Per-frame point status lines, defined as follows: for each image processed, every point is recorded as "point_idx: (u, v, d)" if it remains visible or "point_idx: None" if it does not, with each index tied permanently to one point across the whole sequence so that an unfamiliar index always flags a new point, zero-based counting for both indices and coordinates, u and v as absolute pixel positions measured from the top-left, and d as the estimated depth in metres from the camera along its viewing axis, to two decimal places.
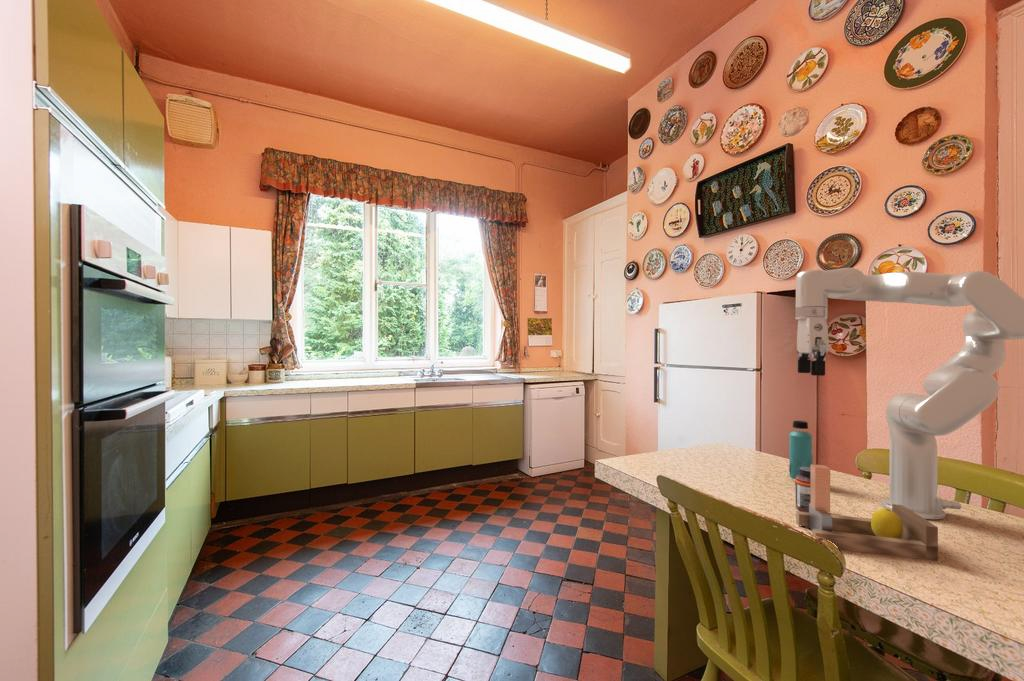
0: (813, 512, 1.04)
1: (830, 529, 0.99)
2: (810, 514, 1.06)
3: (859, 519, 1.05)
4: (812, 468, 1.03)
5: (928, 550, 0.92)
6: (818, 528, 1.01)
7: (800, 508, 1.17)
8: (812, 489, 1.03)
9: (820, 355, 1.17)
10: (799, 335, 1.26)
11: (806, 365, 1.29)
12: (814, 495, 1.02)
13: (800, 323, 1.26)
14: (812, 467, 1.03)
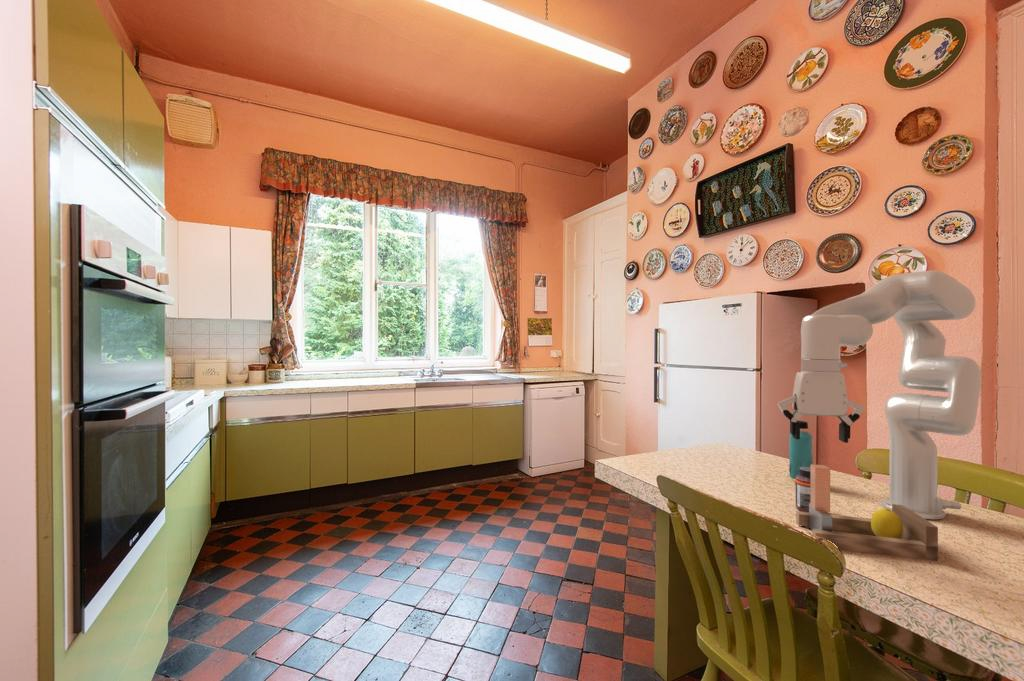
0: (813, 512, 1.04)
1: (830, 529, 0.99)
2: (810, 514, 1.06)
3: (859, 519, 1.05)
4: (812, 468, 1.03)
5: (928, 550, 0.92)
6: (818, 528, 1.01)
7: (800, 508, 1.17)
8: (812, 489, 1.03)
9: None
10: (816, 393, 1.01)
11: None
12: (814, 495, 1.02)
13: (820, 378, 1.01)
14: (812, 467, 1.03)
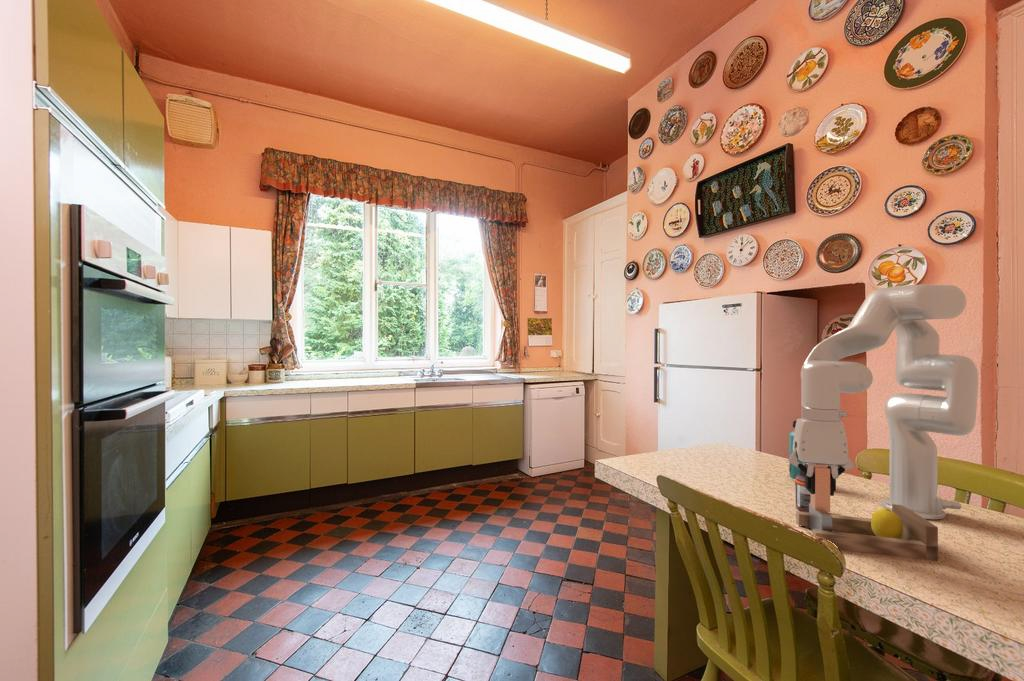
0: (813, 512, 1.04)
1: (830, 529, 0.99)
2: (810, 514, 1.06)
3: (859, 519, 1.05)
4: None
5: (928, 550, 0.92)
6: (818, 528, 1.01)
7: (800, 508, 1.17)
8: None
9: None
10: (817, 442, 1.01)
11: None
12: (814, 495, 1.02)
13: (820, 427, 1.01)
14: None
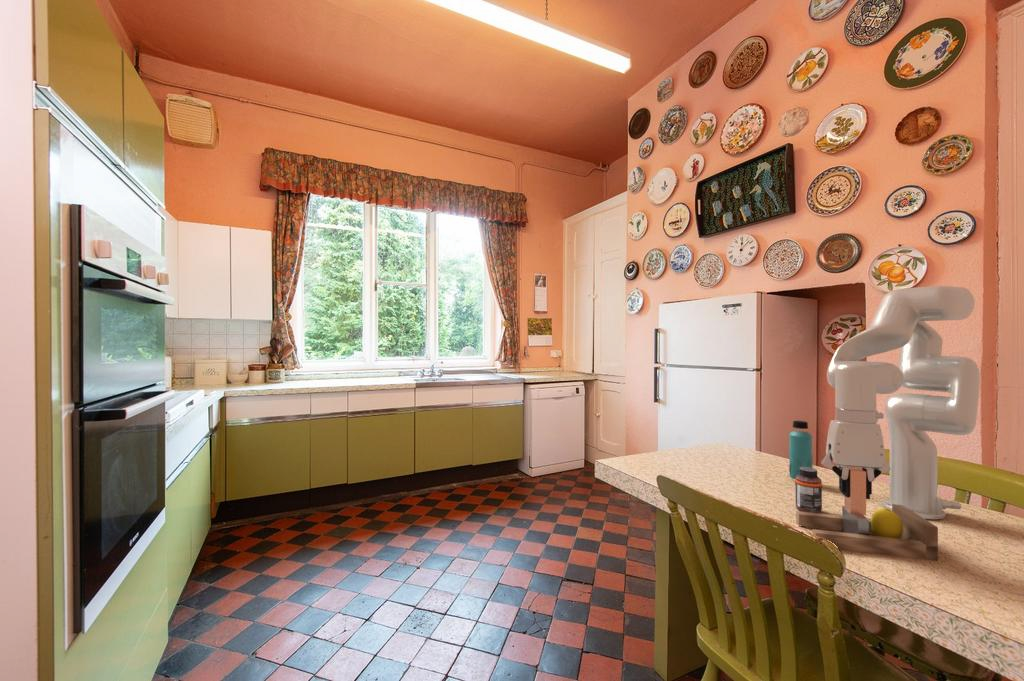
0: (848, 516, 1.02)
1: (867, 533, 0.97)
2: (843, 518, 1.04)
3: None
4: None
5: (928, 550, 0.92)
6: (854, 532, 0.99)
7: (800, 508, 1.17)
8: None
9: None
10: (852, 444, 0.99)
11: None
12: (849, 498, 1.00)
13: (856, 429, 0.99)
14: None
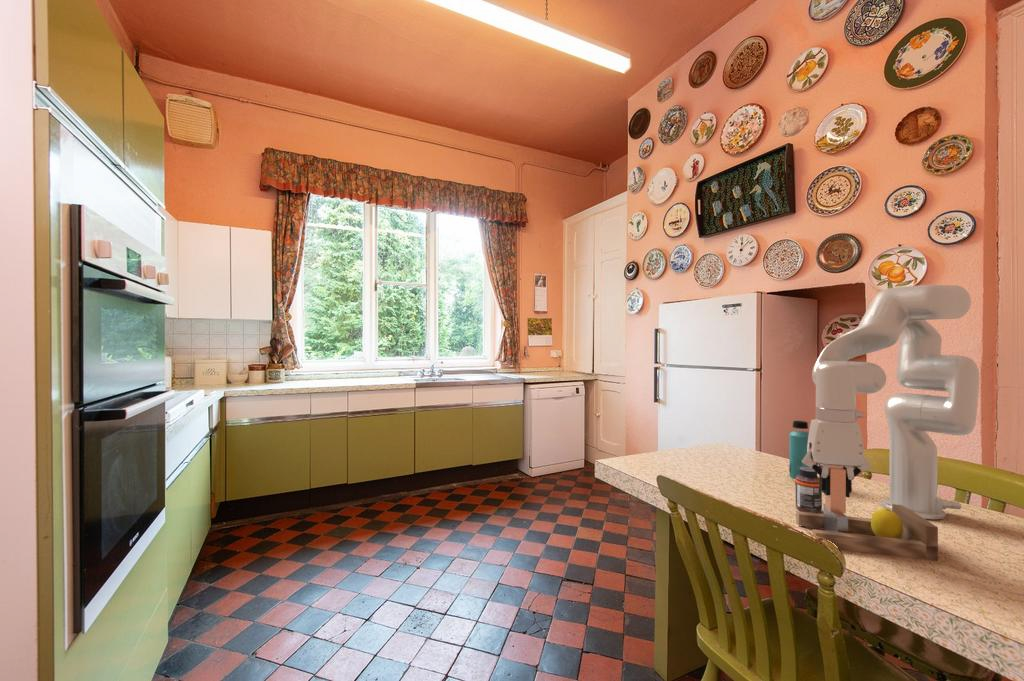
0: (828, 514, 1.03)
1: (846, 531, 0.98)
2: (824, 516, 1.05)
3: (859, 519, 1.05)
4: None
5: (928, 550, 0.92)
6: (833, 530, 1.00)
7: (800, 508, 1.17)
8: None
9: None
10: (832, 443, 1.00)
11: None
12: (829, 496, 1.01)
13: (836, 428, 1.00)
14: None
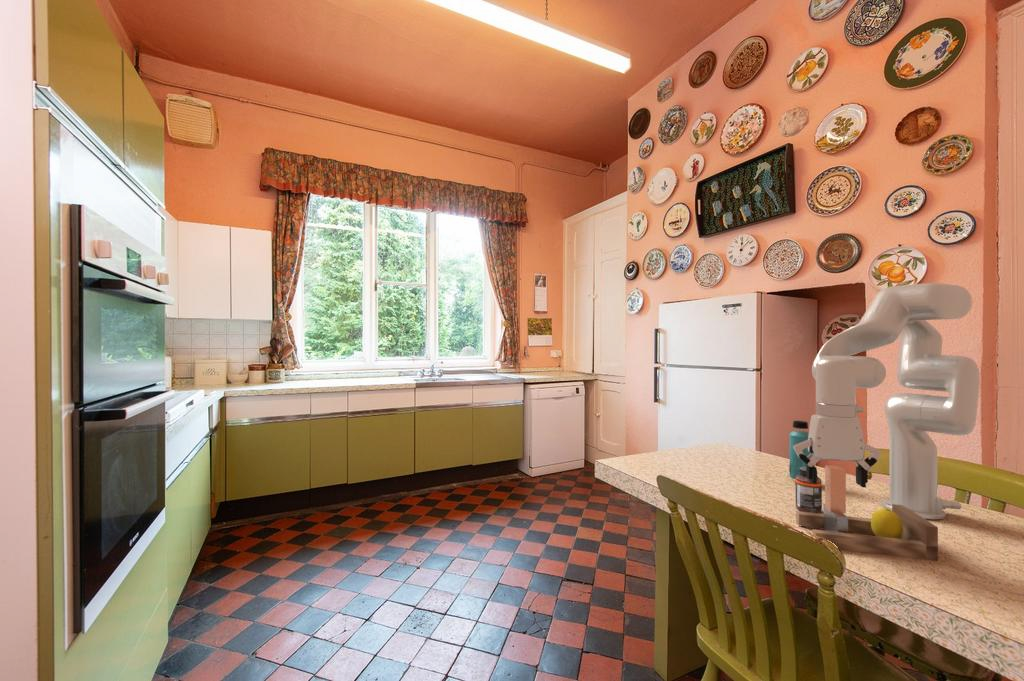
0: (828, 514, 1.03)
1: (846, 531, 0.98)
2: (824, 516, 1.05)
3: (859, 519, 1.05)
4: (827, 469, 1.02)
5: (928, 550, 0.92)
6: (833, 530, 1.00)
7: (800, 508, 1.17)
8: (827, 490, 1.02)
9: None
10: (832, 438, 1.00)
11: None
12: (829, 496, 1.01)
13: (836, 423, 1.00)
14: (827, 468, 1.03)
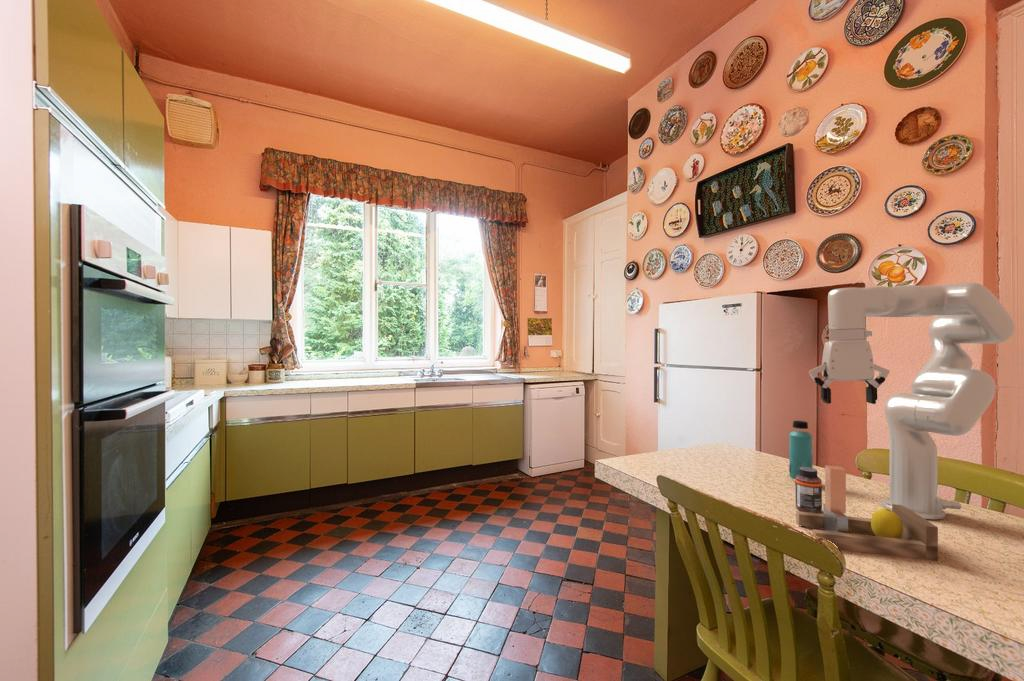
0: (828, 514, 1.03)
1: (846, 531, 0.98)
2: (824, 516, 1.05)
3: (859, 519, 1.05)
4: (827, 469, 1.02)
5: (928, 550, 0.92)
6: (833, 530, 1.00)
7: (800, 508, 1.17)
8: (827, 490, 1.02)
9: None
10: (845, 360, 1.10)
11: None
12: (829, 496, 1.01)
13: (848, 346, 1.09)
14: (827, 468, 1.03)
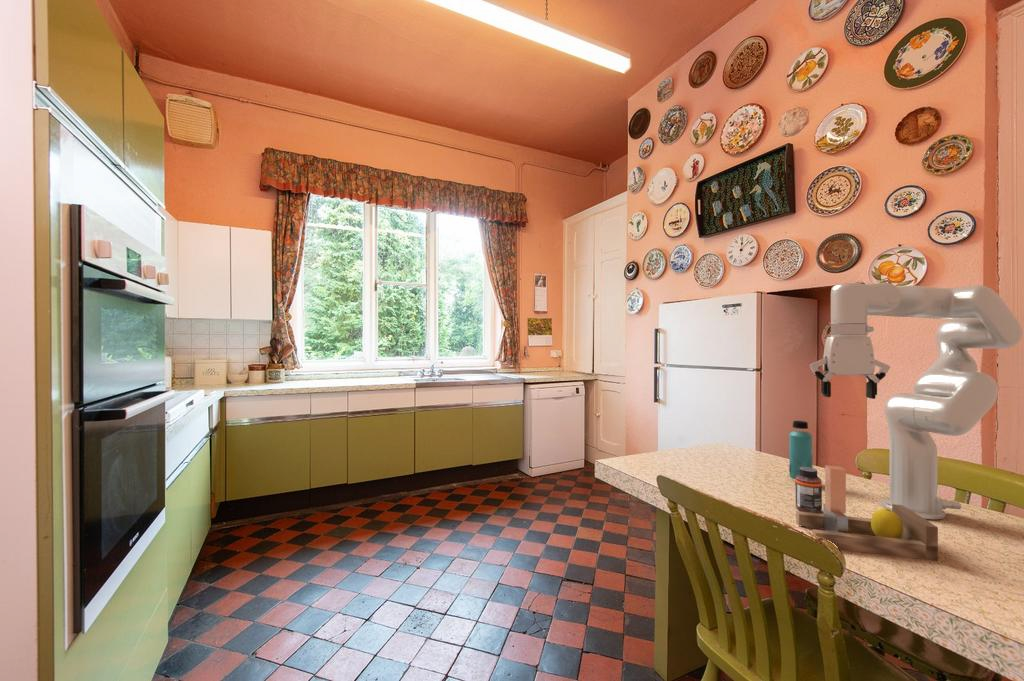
0: (828, 514, 1.03)
1: (846, 531, 0.98)
2: (824, 516, 1.05)
3: (859, 519, 1.05)
4: (827, 469, 1.02)
5: (928, 550, 0.92)
6: (833, 530, 1.00)
7: (800, 508, 1.17)
8: (827, 490, 1.02)
9: None
10: (846, 355, 1.11)
11: None
12: (829, 496, 1.01)
13: (849, 341, 1.11)
14: (827, 468, 1.03)
